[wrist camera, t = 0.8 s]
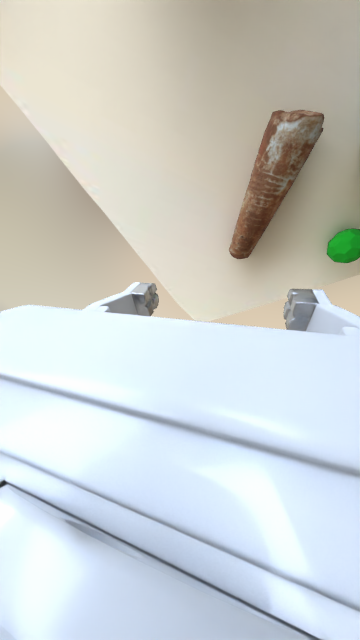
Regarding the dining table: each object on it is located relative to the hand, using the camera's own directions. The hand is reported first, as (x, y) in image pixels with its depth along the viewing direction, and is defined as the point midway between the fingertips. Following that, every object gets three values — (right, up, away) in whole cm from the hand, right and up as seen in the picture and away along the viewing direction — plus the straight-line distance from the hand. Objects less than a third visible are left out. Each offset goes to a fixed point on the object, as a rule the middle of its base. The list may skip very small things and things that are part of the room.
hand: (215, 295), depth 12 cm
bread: (+12, +18, +19) cm, 28 cm away
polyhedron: (+25, +12, +19) cm, 34 cm away
